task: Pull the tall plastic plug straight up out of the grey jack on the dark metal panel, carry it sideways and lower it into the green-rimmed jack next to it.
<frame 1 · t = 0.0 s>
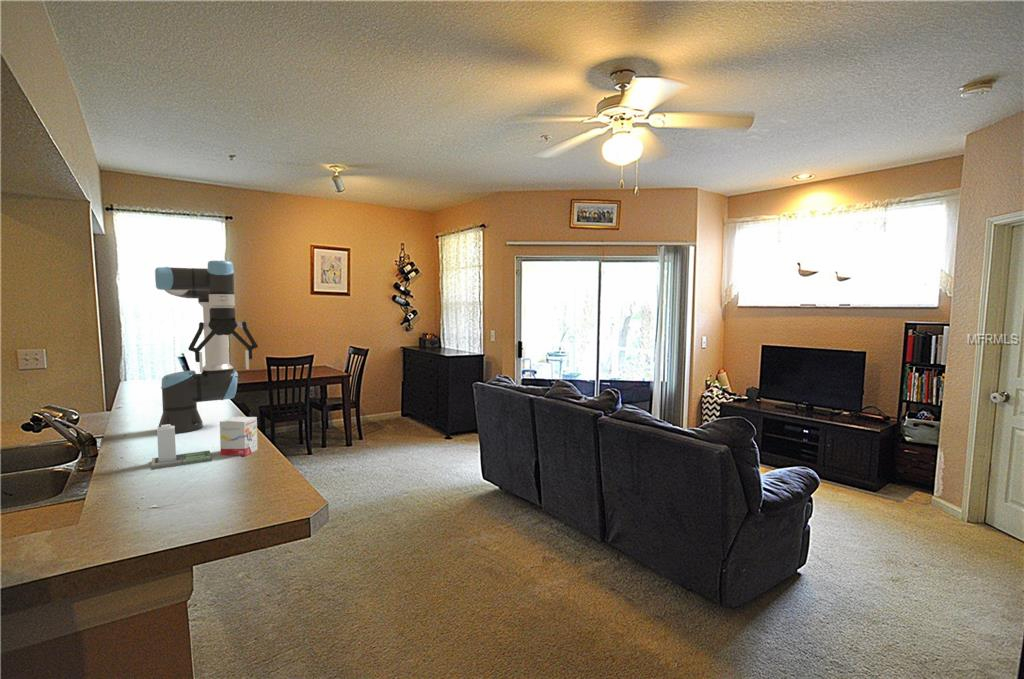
hand: (224, 370, 173), 28 cm above the worktop, fingers open, 13 cm apart
panel: (182, 461, 164), on the worktop
ink box: (239, 453, 174), on the worktop
plug: (167, 462, 162), resting on panel
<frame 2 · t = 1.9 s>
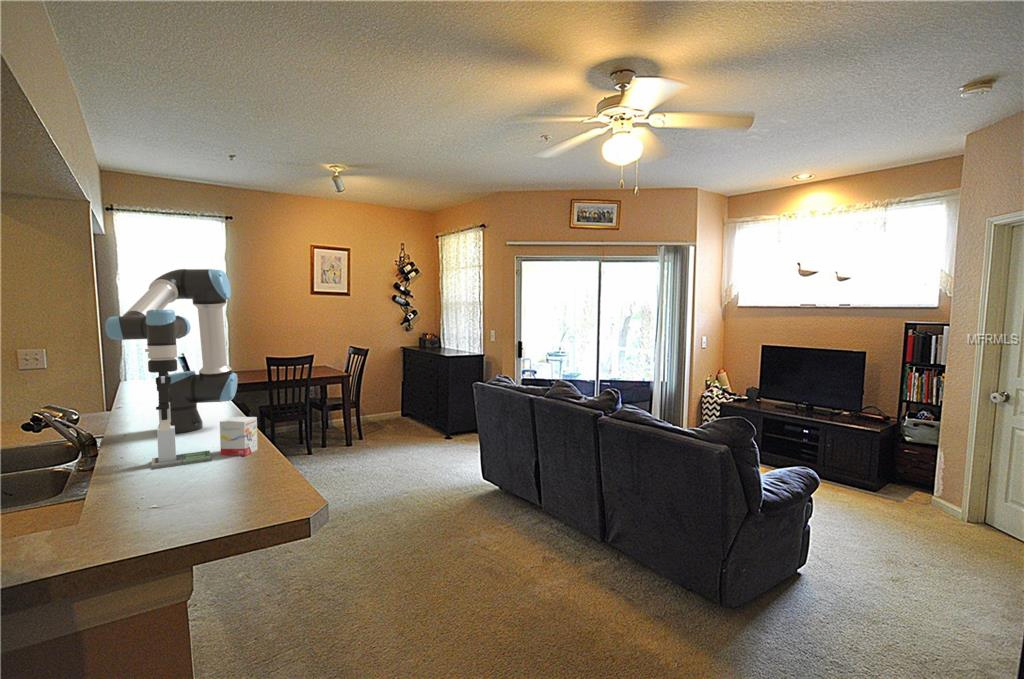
hand: (165, 426, 161), 12 cm above the worktop, fingers open, 13 cm apart
nothing on the worktop moved.
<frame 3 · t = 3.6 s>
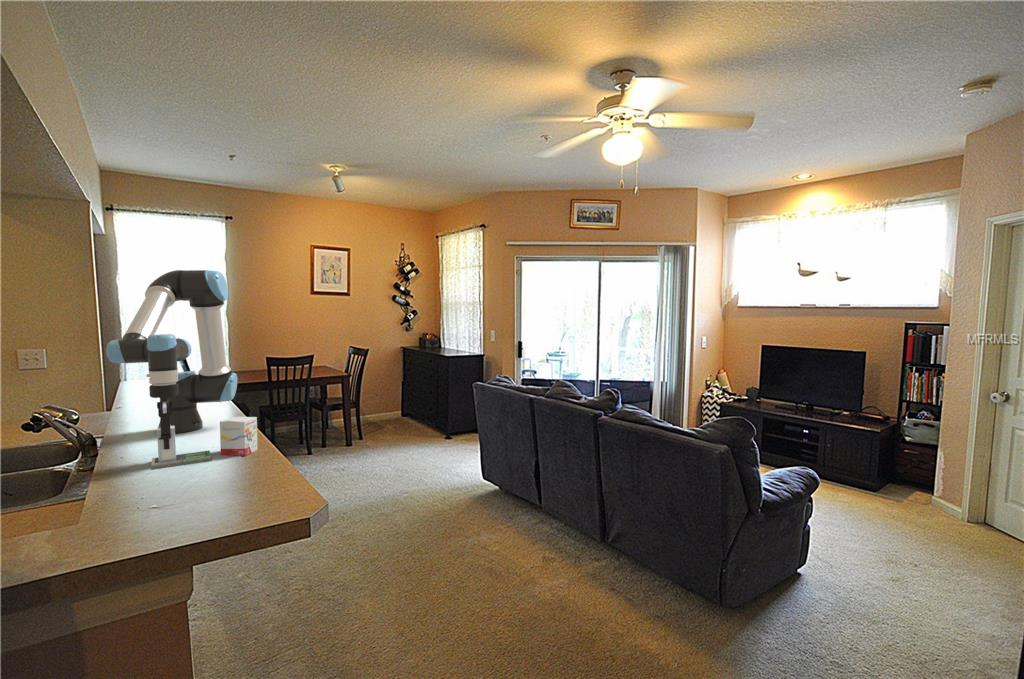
hand: (167, 456, 162), 2 cm above the worktop, fingers closed on plug, 4 cm apart
plug: (167, 462, 162), resting on panel, touching gripper
everything else where it was.
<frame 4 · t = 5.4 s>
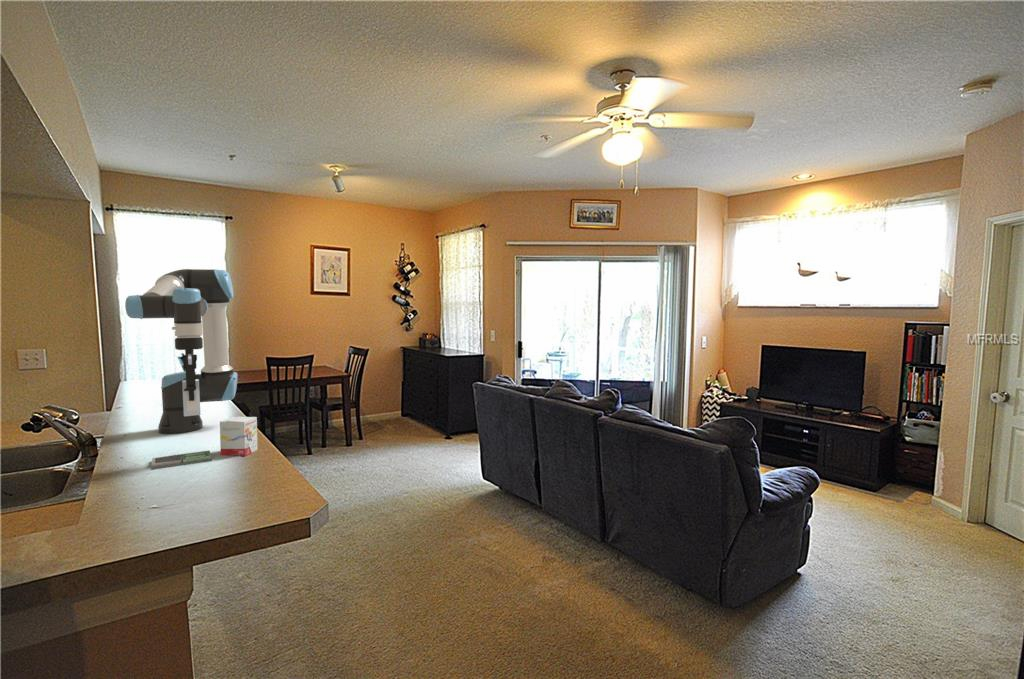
hand: (191, 409, 165), 17 cm above the worktop, fingers closed on plug, 4 cm apart
plug: (192, 414, 165), point 15 cm above the worktop, touching gripper
everything else where it was.
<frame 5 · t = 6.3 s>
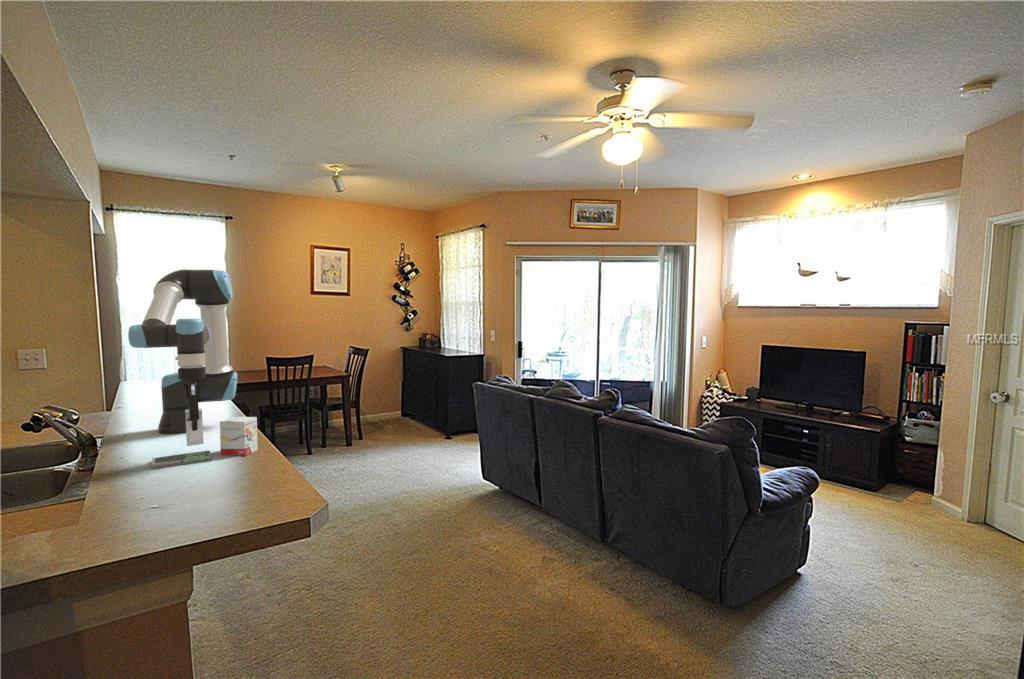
hand: (194, 438, 166), 7 cm above the worktop, fingers closed on plug, 4 cm apart
plug: (195, 443, 166), point 5 cm above the worktop, touching gripper
everything else where it was.
when the fingers open (3 cm above the worktop, at t = 7.3 s): plug drops 1 cm, resting on panel.
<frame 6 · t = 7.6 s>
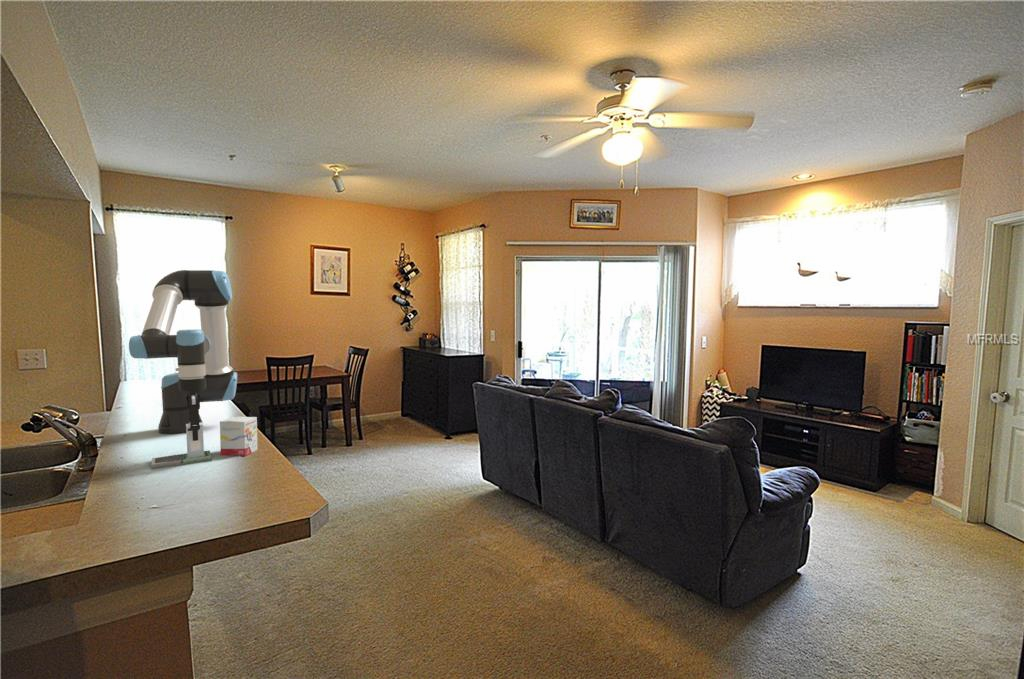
hand: (195, 446, 166), 4 cm above the worktop, fingers open, 9 cm apart
plug: (195, 457, 167), point 1 cm above the worktop, touching panel
everything else where it was.
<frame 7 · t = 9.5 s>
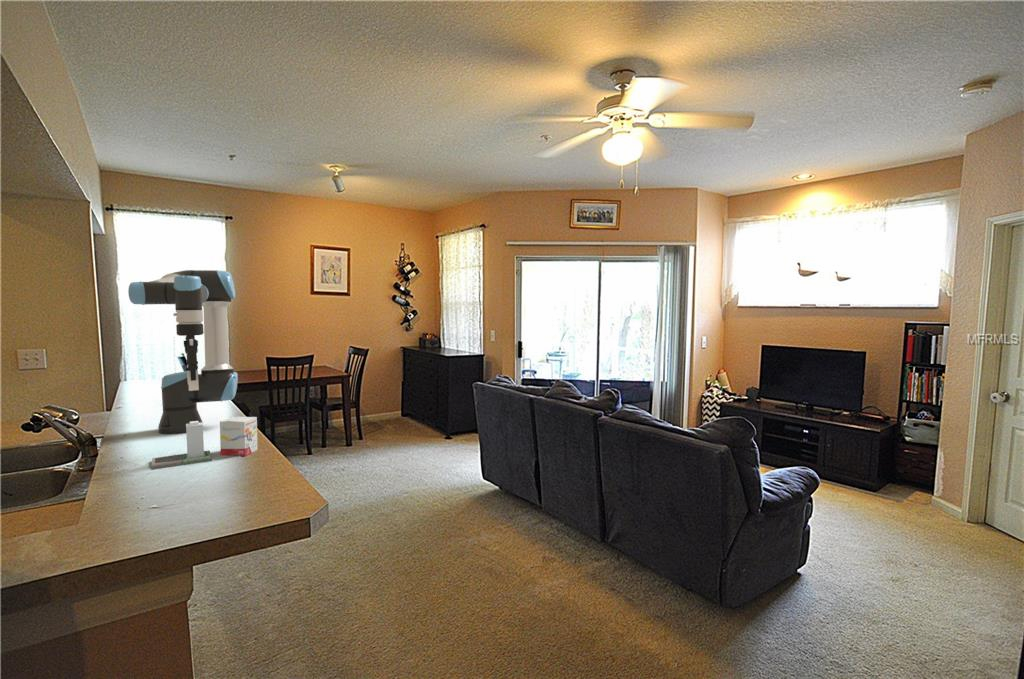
hand: (193, 387, 170), 23 cm above the worktop, fingers open, 13 cm apart
nothing on the worktop moved.
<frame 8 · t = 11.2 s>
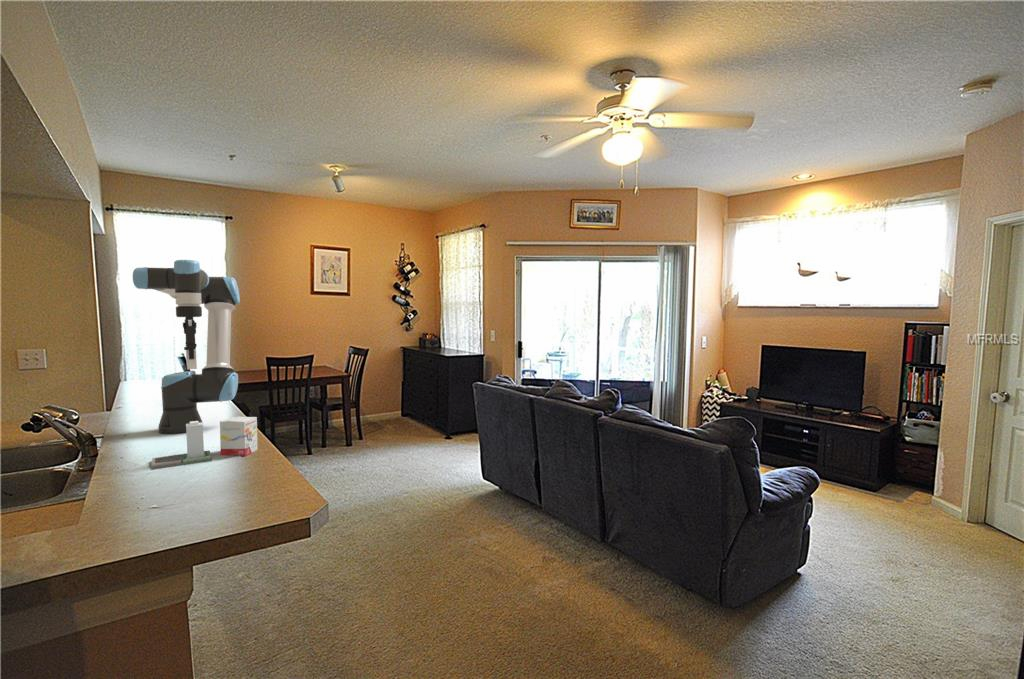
hand: (191, 367, 177), 29 cm above the worktop, fingers open, 13 cm apart
nothing on the worktop moved.
at the end: plug 0.1 cm from the target spot on the panel, point 0.6 cm above the panel's base; plug tilted 0°; the gripper is holding nothing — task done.
